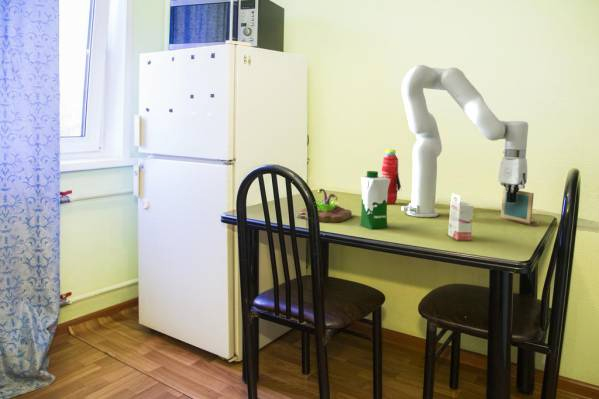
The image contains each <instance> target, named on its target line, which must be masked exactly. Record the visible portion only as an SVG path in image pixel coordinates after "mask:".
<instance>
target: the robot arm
mask: <svg viewBox="0 0 599 399" xmlns="http://www.w3.org/2000/svg"><path fill="white" fill-rule="evenodd" d="M424 89H428V90H429V89H430V90H436V91H437V90H439V91H446V92H447V93H448V94H449V96H451V98H452V99H453V100H454V101H455V103H456V104H457V105H458V106H459V107H460V108H461V110H462V111H463V113H464V114H465V115H466V116H467V117H468V118H469V120H470V121H471V122H472V123H473V125H474V126H476V128H477V129H478V130H479V132H480V133H481V134H482V135H483V137H484V138H486V139H487V140H488V141H494V142H495V141H498V140H504V150H503V152H502V153H503V156H502V157H501V161H500V164H499V170H498V178H497V181H498V182H499V183H500V185H501V186H503V188H506V191H507V200H506V202H509V203H513V202H516V194H517V192H518V190H519V191H520V190H522V189H525V188H526V184H527V181H528V160H527V158H526V157H527V147H528V146H527V145H528V134H529V124H528V122H527V121H523V120H509V121H506V120H505V121H504V120H500V119H499V118H498V117H497V116H496V115H495V113H493V111H492V110H491V109H490V108H489V106H488V105H487V103H486V101H485V99H484V97H483V96H482V94H481V93H480V92H479V91H478V90H477V88H476V87H475V86H474V85H473V83H472V82H471V81H470V80H469V79H468V78H467V76H466V75H465V73H464V72H463V71H462V70H461V69H459V68H458V67H449V68H437V67H430V66H427V65H424V64H419V65H415V66H414V67H412V68H411V69H410V70H409V71H408V72H406V74H405V76H404V77H403V80H402V84H401V96H402V101H403V105H404V110H405V114H406V119H407V124H408V128H409V130H410V132H411V133H412V134H414V135H415V138H416V141H415V143H414V145H413V147H412V179H411V180H412V181H411V202H409V203H408V204H407V205H402V206H401V207H400V210H401V211H402V212H406V214H407V215H409V216H411V217H416V218H437V217H438V216H439V211H436V195H437V181H438V180H437V179H438V178H437V177H438V176H437V175H438V157H439V156H440V155H441V153H442V150H443V144H442V141H441V136H440V132H439V127H438V123H437V120H436V118H435V116H434V115H433V114H432V113H430V112H429V109H428V105H427V100H426V97H425V94H424Z"/></svg>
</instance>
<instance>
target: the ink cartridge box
mask: <svg viewBox="0 0 599 399" xmlns="http://www.w3.org/2000/svg"><path fill="white" fill-rule="evenodd" d="M455 198H456V199H455ZM461 199H462V196H461V195H458V194H456V193H453V192H452V193H451V196H450V203H449V217H448V230H447V231H448V233H447V234H448V236H450V237H451V238H452V239H454V240H456V241H472V234H473V232H472V230H473V217H474V205H472V204H470V203H467V202H465V201H462V200H461Z"/></svg>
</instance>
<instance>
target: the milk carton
mask: <svg viewBox="0 0 599 399" xmlns="http://www.w3.org/2000/svg"><path fill="white" fill-rule="evenodd" d="M360 181H361V212H360V226H362V227H364V228H367V229H370V230H377V229H385V228H388V204H387V195H388V187H389V183H390V179H388V178H385V177H382V176H379V172H378V171H376V170H367V171H366V176H361V177H360Z"/></svg>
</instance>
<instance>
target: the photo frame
mask: <svg viewBox="0 0 599 399" xmlns="http://www.w3.org/2000/svg"><path fill="white" fill-rule="evenodd" d="M534 195H535V193H534V192H529V191H524V190H520V189H519V190H518V192H517V194H516V202H513V203H509V202H506V200H507V191H506V188H505V187H503V188H502V200H501V213H500V217H501V218H502V217H505V218H509V219H513V220H517V221H521V222H525V223H531V220H532V217H533V216H532V215H533V205H534Z"/></svg>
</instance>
